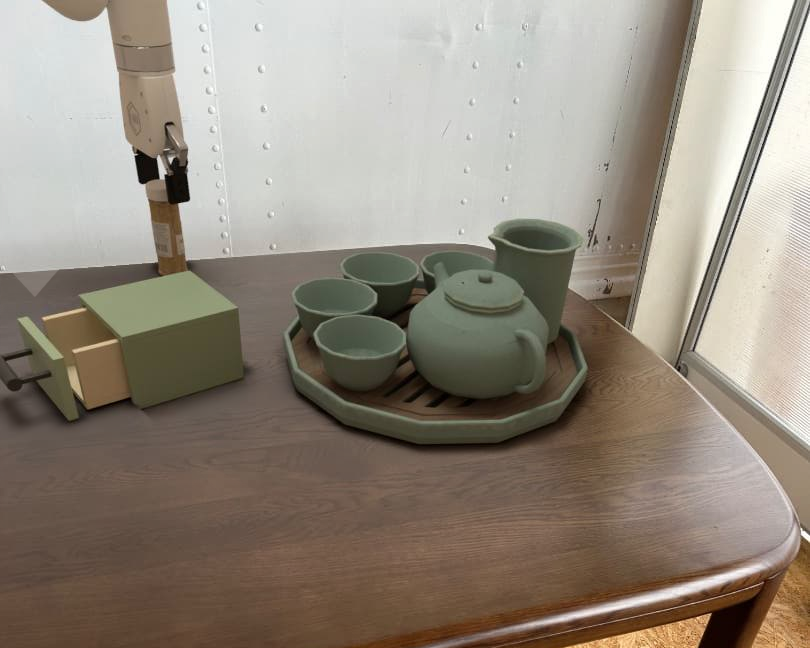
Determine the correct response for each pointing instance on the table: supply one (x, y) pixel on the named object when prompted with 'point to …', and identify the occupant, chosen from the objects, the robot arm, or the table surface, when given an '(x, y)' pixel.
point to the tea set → (443, 339)
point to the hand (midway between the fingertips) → (164, 192)
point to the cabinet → (171, 335)
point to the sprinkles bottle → (166, 229)
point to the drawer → (71, 361)
